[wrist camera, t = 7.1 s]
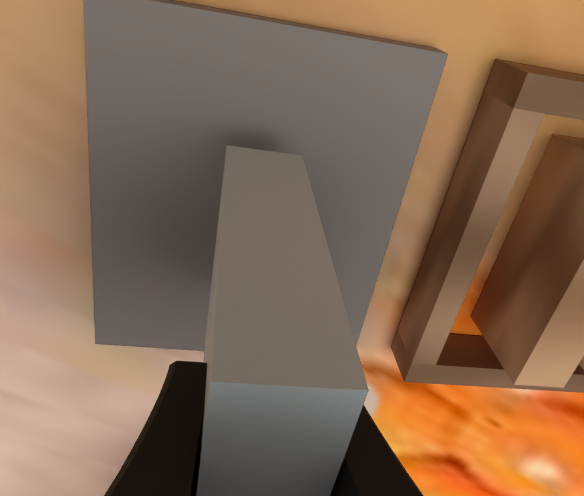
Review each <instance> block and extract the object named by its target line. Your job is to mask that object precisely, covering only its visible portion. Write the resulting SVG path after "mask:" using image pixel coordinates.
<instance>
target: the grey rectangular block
mask: <svg viewBox="0 0 584 496" xmlns="http://www.w3.org/2000/svg"><path fill="white" fill-rule="evenodd" d="M203 363H207V376H206V391H205V406H204V417H203V425H202V434H201V442H200V450H199V458H198V466H197V475H196V483H195V491H194V496H330V494H331V492H332V489H333V486H334V483H335V481H336V478H337V475H338V472H339V470H340V467H341V464H342V462H343V459H344V456H345V453H346V451H347V448H348V445H349V442H350V440H351V437H352V434H353V431H354V429H355V426H356V423H357V421H358V418H359V415H360V412H361V410H362V407H363V404H364V401H365V399H366V396H367V393H368V391H369V390H368V387H367V383H366V380H365V376H364V373H363V369H362V366H361V362H360V358H359V355H358V351H357V348H356V344H355V341H354V337H353V334H352V330H351V326H350V323H349V319H348V316H347V312H346V309H345V305H344V302H343V298H342V294H341V291H340V287H339V284H338V280H337V277H336V273H335V269H334V266H333V262H332V259H331V255H330V252H329V248H328V245H327V241H326V237H325V234H324V230H323V227H322V223H321V220H320V216H319V213H318V209H317V205H316V202H315V198H314V195H313V191H312V188H311V184H310V181H309V177H308V173H307V170H306V166H305V163H304V159H303V156H302V155H295V154H288V153H280V152H273V151H266V150H258V149H251V148H243V147H236V146H229V145H227V146H226V155H225V164H224V173H223V182H222V191H221V200H220V209H219V218H218V227H217V237H216V246H215V255H214V264H213V273H212V282H211V291H210V300H209V309H208V318H207V328H206V339H205V351H204V362H203Z"/></svg>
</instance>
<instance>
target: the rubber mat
mask: <svg viewBox="0 0 584 496" xmlns="http://www.w3.org/2000/svg"><path fill="white" fill-rule="evenodd" d="M84 27H85V57H86V86H87V115H88V144H89V173H90V202H91V231H92V261H93V290H94V319H95V344H106V345H121V346H136V347H151V348H166V349H181V350H196V351H205V339H206V328H207V318H208V309H209V300H210V291H211V282H212V273H213V264H214V255H215V246H216V237H217V227H218V218H219V209H220V200H221V191H222V182H223V173H224V164H225V155H226V146H227V145H229V146H236V147H243V148H251V149H258V150H266V151H273V152H280V153H288V154H295V155H302V156H303V159H304V163H305V166H306V170H307V173H308V177H309V181H310V184H311V188H312V191H313V195H314V198H315V202H316V205H317V209H318V213H319V216H320V220H321V223H322V227H323V230H324V234H325V237H326V241H327V245H328V248H329V252H330V255H331V259H332V262H333V266H334V269H335V273H336V277H337V280H338V284H339V287H340V291H341V294H342V298H343V302H344V305H345V309H346V312H347V316H348V319H349V323H350V326H351V330H352V334H353V337H354V341H355V344H357V341H358V338H359V335H360V331H361V328H362V325H363V322H364V319H365V316H366V312H367V309H368V306H369V303H370V300H371V296H372V293H373V290H374V287H375V284H376V281H377V277H378V274H379V271H380V268H381V265H382V262H383V258H384V255H385V252H386V249H387V246H388V243H389V239H390V236H391V233H392V230H393V227H394V224H395V220H396V217H397V214H398V211H399V208H400V205H401V201H402V198H403V195H404V192H405V189H406V186H407V182H408V179H409V176H410V173H411V170H412V167H413V163H414V160H415V157H416V154H417V151H418V148H419V144H420V141H421V138H422V135H423V132H424V129H425V125H426V122H427V119H428V116H429V113H430V110H431V106H432V103H433V100H434V97H435V94H436V91H437V87H438V84H439V81H440V78H441V75H442V72H443V68H444V65H445V62H446V59H447V56H448V54H447V53H445V52H443V51H441V50H439V49H437V48H433V47H427V46H422V45H416V44H411V43H405V42H400V41H394V40H389V39H383V38H378V37H372V36H367V35H361V34H356V33H350V32H345V31H339V30H334V29H328V28H323V27H317V26H312V25H306V24H301V23H295V22H290V21H284V20H279V19H273V18H268V17H262V16H257V15H251V14H246V13H240V12H235V11H229V10H224V9H218V8H213V7H207V6H202V5H196V4H191V3H185V2H180V1H174V0H84Z"/></svg>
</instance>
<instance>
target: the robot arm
mask: <svg viewBox="0 0 584 496" xmlns="http://www.w3.org/2000/svg"><path fill="white" fill-rule="evenodd" d="M206 376H207V363H203V362H187V361H175V362H174V363H172V364H171V365H170V366H169V369H168V373H167V376H166V379H165V382H164V384H163V387H162V390H161V392H160V394H159V397H158V399H157V401H156V403H155V405H154V408H153V410H152V412H151V414H150V416H149V418H148V420H147V422H146V424H145V426H144V428H143V430H142V432H141V433H140V435H139V437H138V439H137V441H136V443H135V444H134V446H133V448H132V450H131V452H130V454H129V455H128V457H127V459H126V461H125V463H124V464H123V466H122V468H121V470H120V471H119V473H118V474H117V476H116V478H115V479H114V481H113V483H112V484H111V486H110V487H109V489H108V491H107V492H106V494H105V495H104V496H194V491H195V483H196V475H197V466H198V458H199V450H200V442H201V434H202V425H203V417H204V406H205V391H206ZM330 496H423V494H422V493H421V492H420V490H419V489H418V487H417V486H416V485H415V483H414V482H413V480H412V479H411V477H410V476H409V474H408V473H407V471H406V470H405V468H404V467H403V466H402V464H401V463H400V461H399V460H398V458H397V457H396V455H395V454H394V452H393V451H392V449H391V448H390V446H389V445H388V443H387V442H386V440H385V438H384V437H383V435H382V434H381V432H380V431H379V429H378V427H377V426H376V424H375V423H374V421H373V419H372V418H371V416H370V415H369V413H368V411H367V410H366V408H365V406H364V405H363V407H362V410H361V412H360V415H359V418H358V421H357V423H356V426H355V429H354V431H353V434H352V437H351V440H350V442H349V445H348V448H347V451H346V453H345V456H344V459H343V462H342V464H341V467H340V470H339V472H338V475H337V478H336V481H335V483H334V486H333V489H332V492H331V494H330Z"/></svg>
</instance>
